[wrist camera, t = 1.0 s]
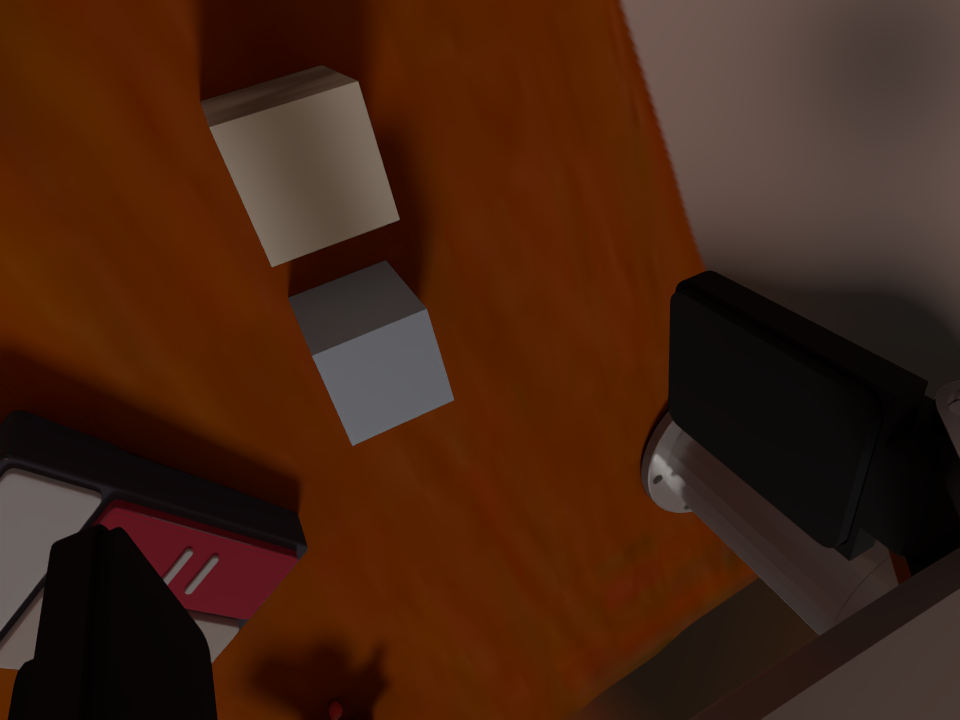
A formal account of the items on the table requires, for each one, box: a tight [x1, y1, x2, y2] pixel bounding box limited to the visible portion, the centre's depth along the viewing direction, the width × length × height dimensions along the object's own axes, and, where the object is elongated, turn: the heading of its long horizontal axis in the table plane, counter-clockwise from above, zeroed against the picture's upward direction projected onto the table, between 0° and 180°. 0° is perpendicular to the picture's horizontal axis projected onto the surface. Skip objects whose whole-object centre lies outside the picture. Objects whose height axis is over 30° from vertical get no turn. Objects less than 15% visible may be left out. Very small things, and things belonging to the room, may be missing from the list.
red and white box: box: [0, 411, 308, 670], centre depth 31 cm, size 11×4×15 cm
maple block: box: [200, 65, 400, 267], centre depth 24 cm, size 5×5×6 cm
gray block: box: [288, 260, 454, 446], centre depth 29 cm, size 5×5×6 cm
